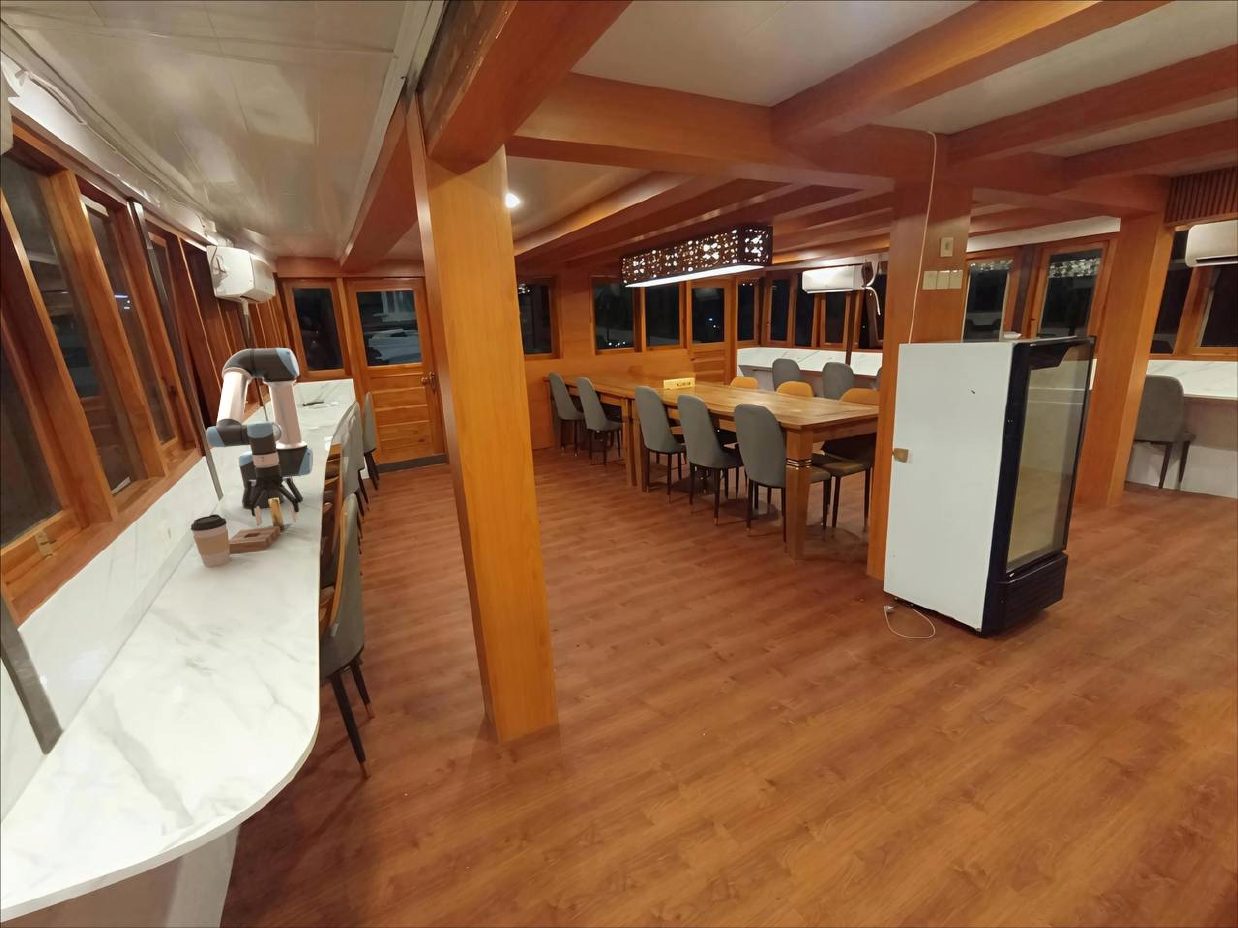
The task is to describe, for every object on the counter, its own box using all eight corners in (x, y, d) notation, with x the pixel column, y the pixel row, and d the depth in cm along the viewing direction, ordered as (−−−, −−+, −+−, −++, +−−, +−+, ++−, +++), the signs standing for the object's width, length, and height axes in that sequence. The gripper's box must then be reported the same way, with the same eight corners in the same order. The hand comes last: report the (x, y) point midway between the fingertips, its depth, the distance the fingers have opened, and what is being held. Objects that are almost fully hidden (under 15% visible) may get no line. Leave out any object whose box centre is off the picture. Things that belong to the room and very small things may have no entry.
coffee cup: (220, 568, 164) (210, 522, 160) (192, 568, 164) (181, 523, 161) (241, 556, 173) (232, 512, 169) (214, 556, 173) (204, 513, 169)
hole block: (243, 538, 187) (241, 529, 186) (280, 535, 190) (279, 526, 189) (225, 554, 174) (223, 544, 173) (266, 550, 177) (264, 540, 176)
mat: (268, 526, 199) (268, 525, 199) (292, 524, 201) (292, 523, 201) (258, 536, 189) (258, 535, 189) (283, 533, 191) (283, 532, 191)
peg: (276, 528, 195) (270, 497, 192) (285, 527, 196) (279, 497, 193) (272, 531, 192) (266, 500, 190) (282, 530, 193) (276, 499, 190)
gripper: (224, 470, 182) (237, 529, 187) (300, 464, 188) (310, 522, 193) (233, 464, 189) (245, 522, 194) (306, 459, 195) (316, 515, 200)
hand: (278, 522), depth 194 cm, fingers open, 11 cm apart
